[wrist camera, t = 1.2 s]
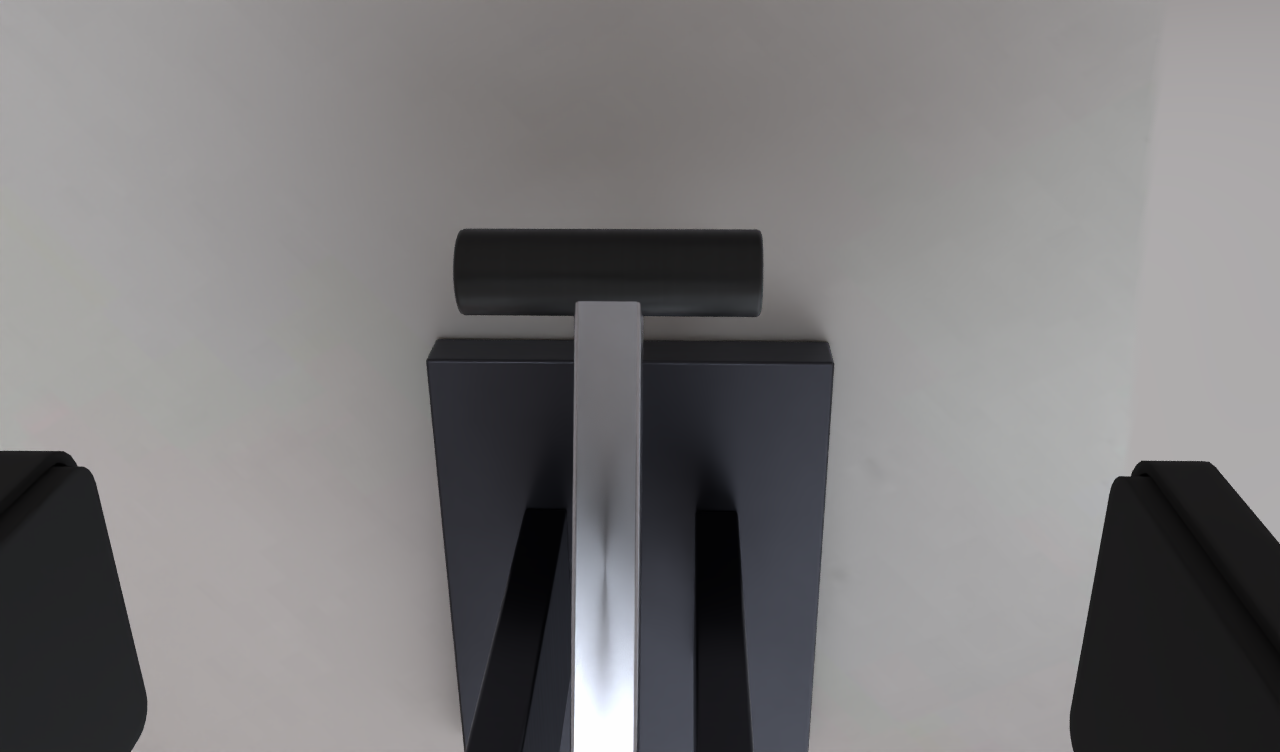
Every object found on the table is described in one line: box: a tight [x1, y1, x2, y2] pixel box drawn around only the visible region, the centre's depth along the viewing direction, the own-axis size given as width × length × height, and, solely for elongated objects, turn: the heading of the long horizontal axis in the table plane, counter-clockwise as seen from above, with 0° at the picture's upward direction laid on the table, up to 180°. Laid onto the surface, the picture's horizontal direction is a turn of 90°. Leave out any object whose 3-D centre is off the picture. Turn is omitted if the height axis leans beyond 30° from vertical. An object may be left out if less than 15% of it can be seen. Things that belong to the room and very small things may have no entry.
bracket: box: [426, 339, 834, 752], centre depth 23 cm, size 12×9×13 cm
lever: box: [453, 229, 763, 752], centre depth 19 cm, size 13×5×2 cm, turn 1°
